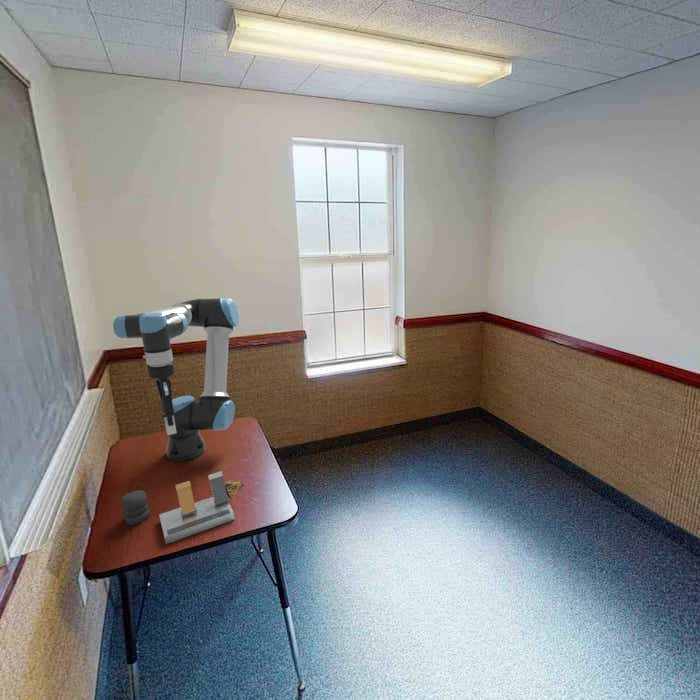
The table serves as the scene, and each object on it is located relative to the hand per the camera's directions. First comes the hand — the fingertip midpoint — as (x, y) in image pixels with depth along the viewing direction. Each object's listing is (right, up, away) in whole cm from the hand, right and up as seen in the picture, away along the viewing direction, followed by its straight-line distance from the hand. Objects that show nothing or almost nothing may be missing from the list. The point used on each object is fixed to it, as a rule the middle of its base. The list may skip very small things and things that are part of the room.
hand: (171, 432), depth 136 cm
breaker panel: (+10, -26, -5) cm, 29 cm away
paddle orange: (+8, -24, -7) cm, 27 cm away
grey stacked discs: (-10, -27, -3) cm, 28 cm away
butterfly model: (+15, -23, +11) cm, 30 cm away
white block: (+17, -23, -2) cm, 28 cm away
